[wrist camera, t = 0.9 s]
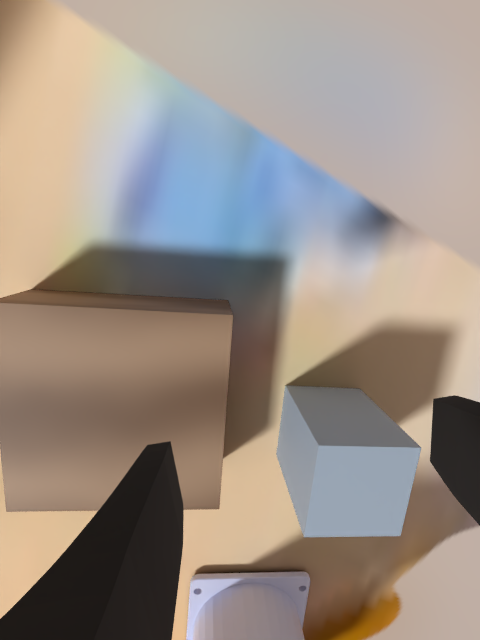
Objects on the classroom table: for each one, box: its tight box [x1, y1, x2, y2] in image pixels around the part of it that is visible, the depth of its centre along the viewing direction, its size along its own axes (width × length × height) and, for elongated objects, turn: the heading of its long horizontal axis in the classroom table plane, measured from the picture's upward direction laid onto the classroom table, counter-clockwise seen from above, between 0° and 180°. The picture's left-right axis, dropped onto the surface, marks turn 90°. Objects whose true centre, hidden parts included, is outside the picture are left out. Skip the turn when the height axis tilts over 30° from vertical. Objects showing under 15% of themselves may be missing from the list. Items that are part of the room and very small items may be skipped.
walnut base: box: [0, 289, 233, 512], centre depth 17 cm, size 10×10×4 cm
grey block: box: [276, 385, 421, 537], centre depth 18 cm, size 5×5×6 cm
